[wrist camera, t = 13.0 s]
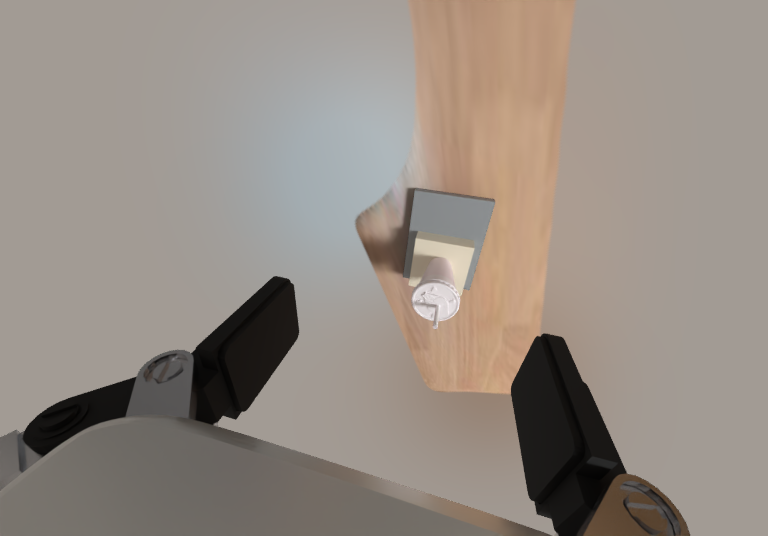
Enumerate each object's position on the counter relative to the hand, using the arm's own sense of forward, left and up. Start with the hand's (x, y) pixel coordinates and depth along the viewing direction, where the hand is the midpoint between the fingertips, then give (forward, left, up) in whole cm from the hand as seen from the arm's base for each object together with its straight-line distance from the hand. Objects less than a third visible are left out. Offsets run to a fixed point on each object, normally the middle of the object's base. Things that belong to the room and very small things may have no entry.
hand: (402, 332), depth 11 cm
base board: (+12, +2, -36) cm, 38 cm away
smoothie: (+15, +2, -32) cm, 35 cm away
